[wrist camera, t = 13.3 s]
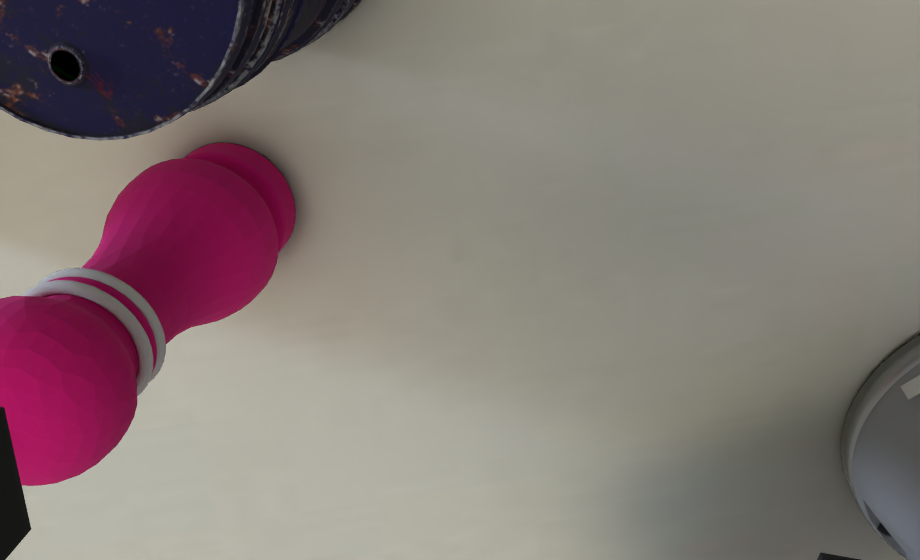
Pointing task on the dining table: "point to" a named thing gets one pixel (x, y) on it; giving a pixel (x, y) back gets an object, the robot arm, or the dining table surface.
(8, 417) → the pepper mill
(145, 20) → the dark blue barrel
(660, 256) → the dining table surface
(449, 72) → the dining table surface
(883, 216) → the dining table surface
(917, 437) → the robot arm
